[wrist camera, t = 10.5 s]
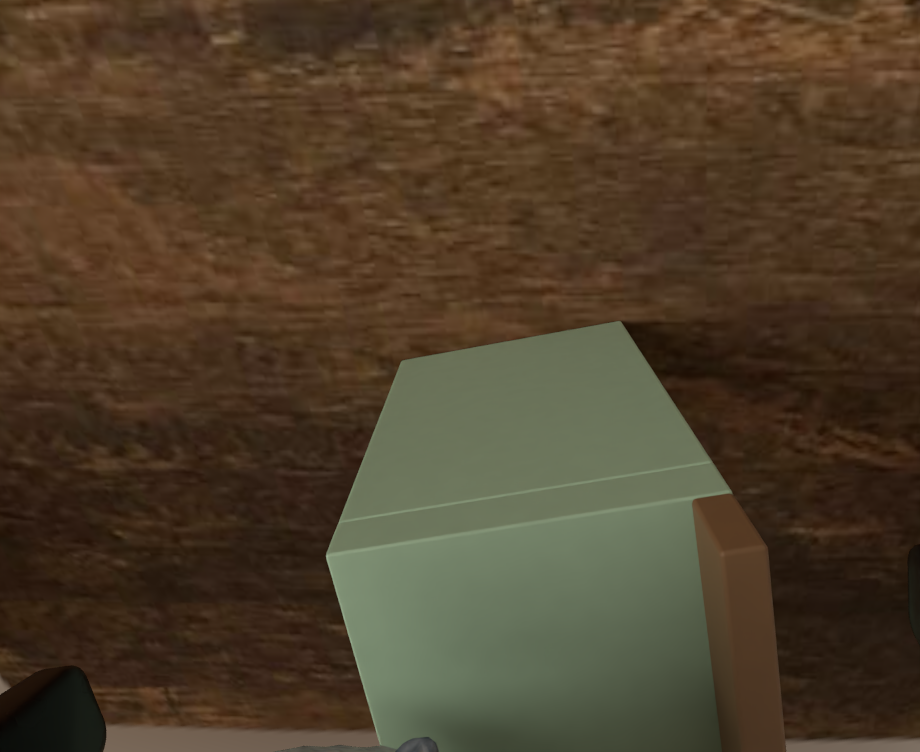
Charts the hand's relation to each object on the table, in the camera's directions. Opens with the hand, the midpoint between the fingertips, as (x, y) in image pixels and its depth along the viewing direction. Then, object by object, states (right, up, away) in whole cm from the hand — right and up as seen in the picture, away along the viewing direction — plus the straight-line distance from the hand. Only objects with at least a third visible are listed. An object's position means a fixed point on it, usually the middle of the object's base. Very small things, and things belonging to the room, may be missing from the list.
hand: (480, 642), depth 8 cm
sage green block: (+2, 0, +14) cm, 14 cm away
